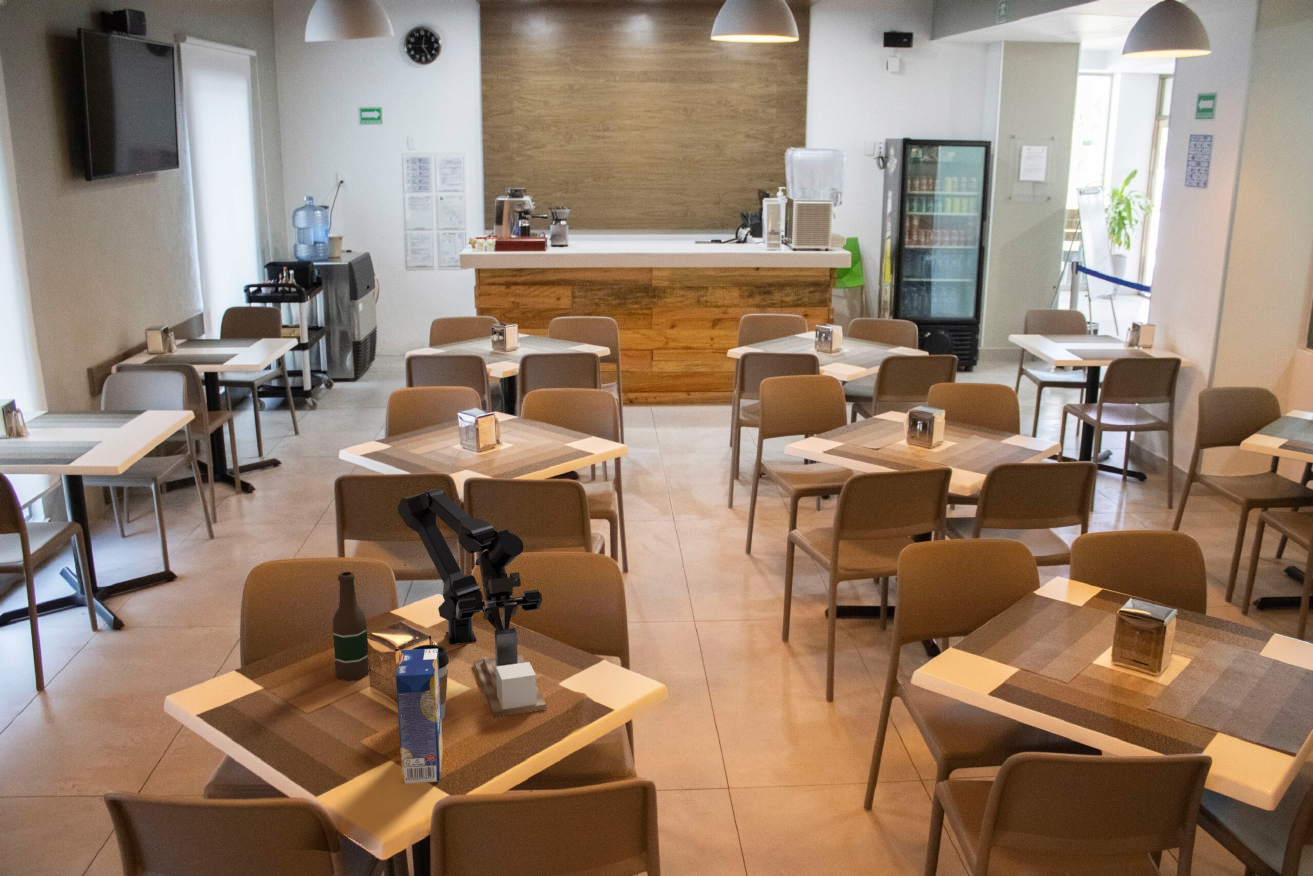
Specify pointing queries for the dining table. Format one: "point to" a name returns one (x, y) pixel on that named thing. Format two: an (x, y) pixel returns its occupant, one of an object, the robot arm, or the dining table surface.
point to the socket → (516, 685)
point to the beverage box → (419, 715)
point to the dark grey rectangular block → (506, 647)
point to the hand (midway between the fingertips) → (505, 640)
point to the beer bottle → (350, 633)
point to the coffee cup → (440, 673)
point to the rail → (489, 684)
